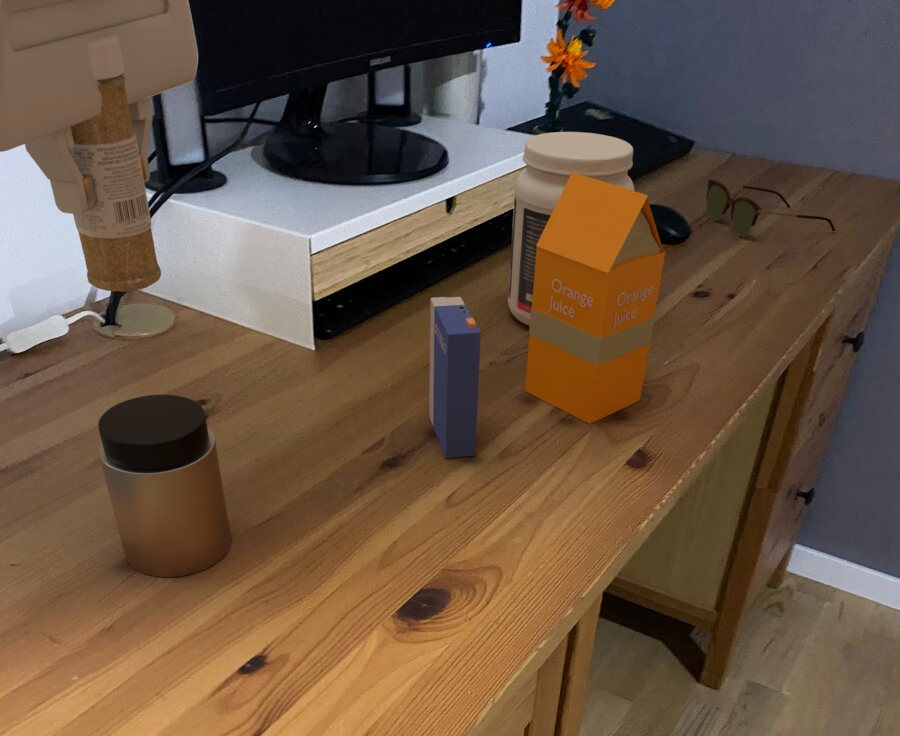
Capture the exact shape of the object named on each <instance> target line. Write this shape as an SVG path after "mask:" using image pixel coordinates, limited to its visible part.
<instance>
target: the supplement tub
mask: <svg viewBox="0 0 900 736" xmlns="http://www.w3.org/2000/svg"><path fill="white" fill-rule="evenodd" d="M523 152H524V153H523V155H522V161H523V163H524V164H525V165H526V168H525V169H524V170H523V171H522V172H521V173H520V174H519V176H518V177H517V179H516V182H515V185H514V186H515V187H514V199H513V215H512V227H511V228H512V231H511V244H510V245H511V247H510V263H509V279H508V294H507V295H508V296H507V304H508V308H509V311H510V312H511V314H512V315H513V317H514V318H515V319H516V320H518V321H519V322H521V323H522V324H524V325H526V326H528V327H530V316H531V308H532V299H533V287H534V275H535V263H536V251H537V246H536V245H537V243H538V241H539V239H540V237H541V235H542V233H543V231H544V229H545V227H546V225H547V223H548V221H549V219H550V216H551V214H552V212H553V210H554V208H555V206H556V204H557V202H558V200H559V198H560V196H561V194H562V192H563V190H564V188H565V186H566V184H567V182H568V180H569V178H570V176H571V174H572V172H573V173H577V174H580V175H583V176H586V177H590V178H593V179H596V180H600V181H603V182H606V183H609V184H613V185H616V186H619V187H622V188H626V189H629V190H632V191H635V192H636V190H635V185H634V182H633V180H632V178H631V177H630V176H629V174H628V171H630V170H631V169H632V167H633V164H634V162H633V158H634V157H633V156H634V148H633V145H631V144H630V143H629V142H627V141H626V140H624V139H621V138H619V137H615V136H610V135H605V134H599V133H593V132H583V131H582V132H581V131H557V132H546V133H540V134H536V135H533V136H531V137H529V138H528V139H527V140H526V141H525V143H524V151H523Z"/></svg>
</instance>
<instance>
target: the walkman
mask: <svg viewBox="0 0 900 736" xmlns="http://www.w3.org/2000/svg"><path fill="white" fill-rule="evenodd" d="M429 313H430V315H429V316H430V317H429V319H430V320H429V321H430V322H429V323H430V327H429V329H430V332H429V333H430V334H429V337H430V338H429V397H428V398H429V401H428V402H429V404H428V406H429V407H428V408H429V409H428V410H429V411H428V414H429V420H430V422H431V425H432V428H433V430H434V433H435V436H436V437H437V440H438V443H439V445H440V448H441V450H442V453H443V455H444V458H445V459H453V458H455V459H456V458H464V457H475V456H476V448H477V447H476V446H477V427H478V426H477V425H478V424H477V423H478V406H479V405H478V403H479V402H478V401H479V381H480V379H479V378H480V359H481V337H482V336H481V335H482V332H481V329H479V327H478V325H477V322H476V321H475V318H474V317H473V316H472V313H471V312H470V310H469V309H468V307H467V305H466V304H465V302H464V300H463V298H462V297H461V296H453V297H450V296H449V297H446V296H438V297H431V298H430V312H429Z"/></svg>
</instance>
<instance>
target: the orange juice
mask: <svg viewBox="0 0 900 736" xmlns="http://www.w3.org/2000/svg"><path fill="white" fill-rule="evenodd" d="M648 196H649V194H644V193H642V192H638V191H636V190H635V191H632V190H629V189H626V188H622V187H619V186H616V185H613V184H609V183H606V182H603V181H600V180H596V179H593V178H590V177H586V176H583V175H580V174H577V173H573V172H572V174H571V176H570V178H569V180H568V182H567V184H566V186H565V188H564V190H563V192H562V194H561V196H560V198H559V200H558V202H557V204H556V206H555V208H554V210H553V212H552V214H551V216H550V219H549V221H548V223H547V225H546V227H545V229H544V231H543V233H542V235H541V237H540V239H539V241H538V243H537V245H536V246H537V251H536V263H535V275H534V287H533V299H532V308H531V316H530V326H529V328H528V329H529V330H528V335H529V336H528V349H527V360H526V372H525V385H524V392H525V393H528V394H530V395H532V396H534V397H536V398H538V399H540V400H542V401H544V402H545V403H547V404H550V405H551V406H553V407H555V408H556V409H557V408H558V409H559V410H561V411H562V412H565V413H567V414H569V415H571V416H573V417H575V418H577V419H579V420H580V421H583V422H584V423H587V424H589V425H590V424H592V423H595V422H597V421H599V420H601V419H603V418H606V417H608V416H610V415H612V414H615V413H616V412H618V411H621V410H623V409H625V408H627V407H630V406H631V405H634V404H636V403H638V402H640V401H641V396H642V391H643V384H644V379H645V373H646V367H647V361H648V356H649V350H650V344H651V341H652V336H653V331H654V324H655V318H656V317H655V316H656V315H655V314H656V308H657V303H658V298H659V292H660V287H661V281H662V274H663V267H664V263H665V258H666V252H665V251H664V248H663V245H662V242H661V239H660V235H659V232H658V228H657V225H656V223H655V219H654V216H653V215H654V214H653V211H652V209H651V206H650V203H649V198H648Z"/></svg>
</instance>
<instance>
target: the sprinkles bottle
mask: <svg viewBox="0 0 900 736" xmlns="http://www.w3.org/2000/svg"><path fill="white" fill-rule="evenodd" d="M87 50H88V55H89V60H90V65H91V70H92V74H93V79H94V80H96V81H98V82H99V83H100V84H99V85H98V87H97V88H98V90H99V91H100V93H101V94H102V96H101V99H102V107H101V113H100V115H99V116H97V117H95V118H93V119H90V120H87V121H85V122H82V123H79V124H77V125H74V126H71V131H72V136H73V141H74V148H72V149H68V151H69V153H70V154H71V156H72V158H73V160H74V162H75V163H76V165H77V167H78V169H79V170H80V172H81V174H82V175H91V176H92V177H93V182H94V187H95V190H94V193H95V195H96V196H97V201H98V202H97V205H96V206H95V207H93V208H91V209H89V210H88V211H85V212H84V213H82V214H79V215H78V214H72V215H73V219H74V224H75V227H76V230H77V232H78V236H79V241H80V244H81V249H82V253H83V257H84V262H85V266H86V270H87V271H86V278H87V282H88V283H89V284H90V285H91V286H93V287H95V288H97V289H99V290H102V291H107V292H119V293H121V292H124V293H125V292H131V291H139V290H143V289H145V288H148V287H150V286H152V285H154V284H155V283H157V282H158V281H159V280H160V279H161V276H162V270H161V267H160V265H159V263H158V259H157V258H158V257H157V255H156V254H157V253H156V247H155V242H154V238H153V232H152V218H151V212H150V208H149V207H150V205H149V202H148V196H147V190H146V184H145V182H144V178H143V173H142V168H141V162H140V157H139V151H138V146H137V140H136V136H135V134H134V131H133V126H132V122H131V117H130V110H129V105H128V102H127V95H126V91H125V86H124V81H125V77H123V76H122V74H123V73H124V71H125V66H124V61H123V56H122V51H121V46H120V42H119V39H118V37H117V36H116V35H114V34H111V35H107V36H103V37H99V38H96V39H93V40H91V41H89V42H88V44H87Z"/></svg>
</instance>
